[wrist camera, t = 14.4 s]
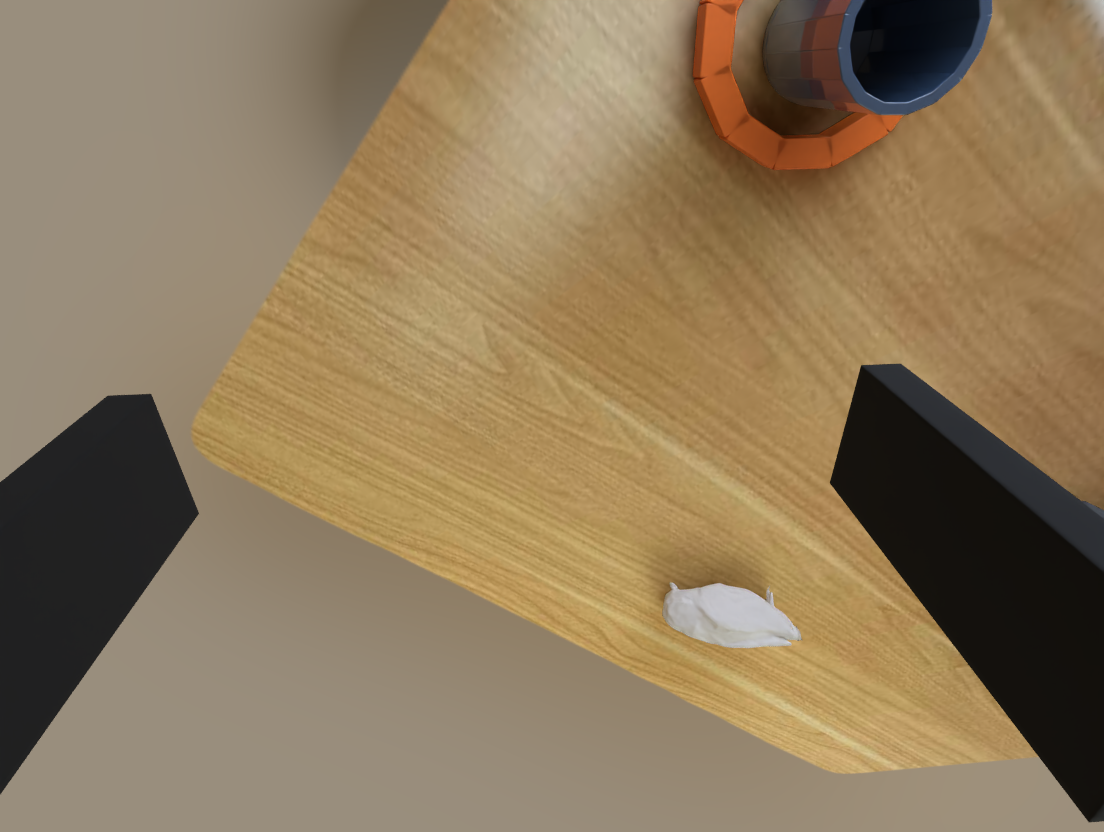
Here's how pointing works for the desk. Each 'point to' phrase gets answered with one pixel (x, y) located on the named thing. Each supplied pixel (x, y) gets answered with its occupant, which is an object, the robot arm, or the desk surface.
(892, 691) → the desk surface
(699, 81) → the ring
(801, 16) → the cup
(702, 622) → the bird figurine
